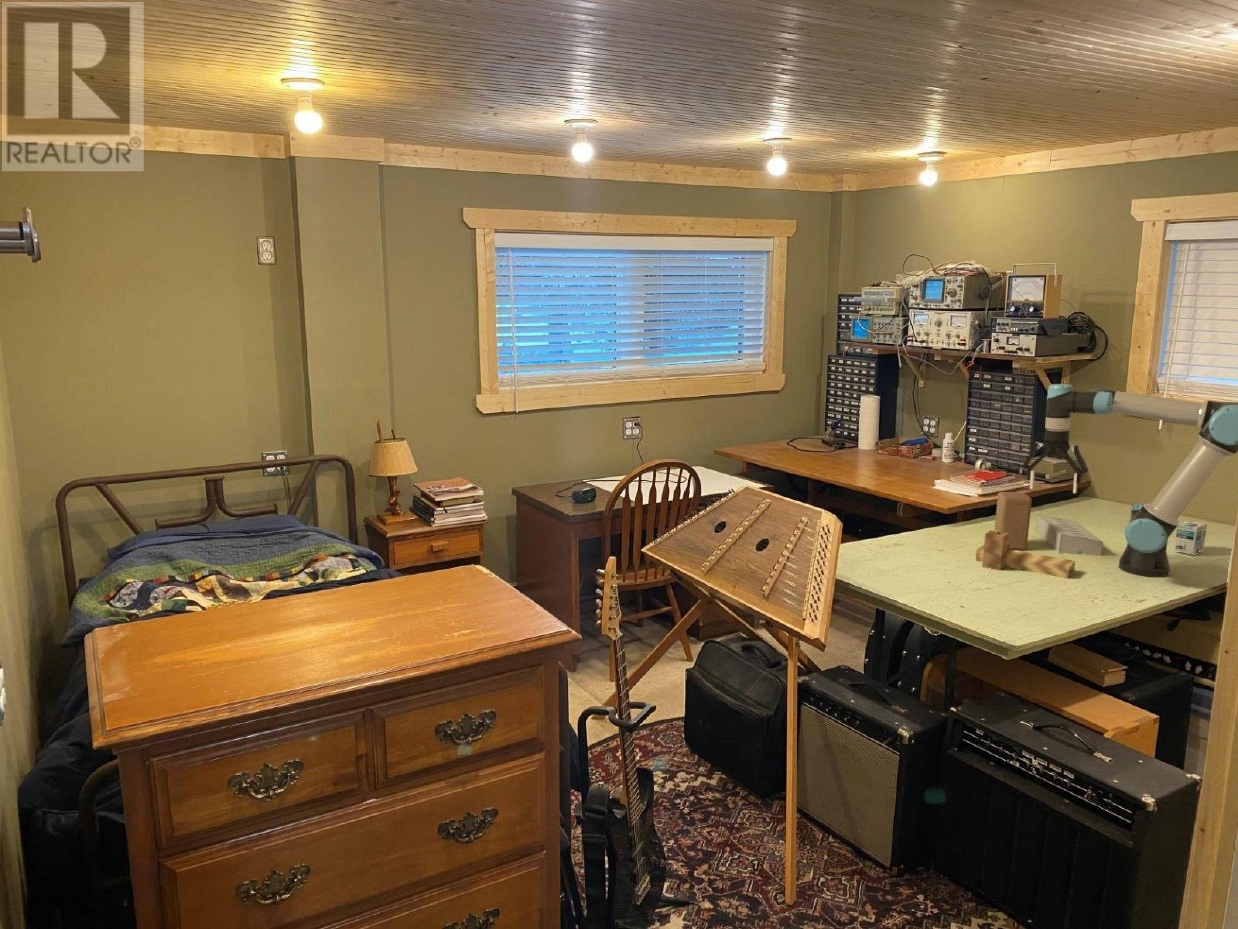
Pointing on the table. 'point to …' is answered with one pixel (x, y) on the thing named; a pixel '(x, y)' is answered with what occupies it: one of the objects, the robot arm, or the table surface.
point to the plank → (1035, 562)
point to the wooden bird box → (995, 549)
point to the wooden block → (1014, 518)
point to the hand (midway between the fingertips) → (1053, 490)
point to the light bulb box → (1190, 537)
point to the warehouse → (1068, 536)
